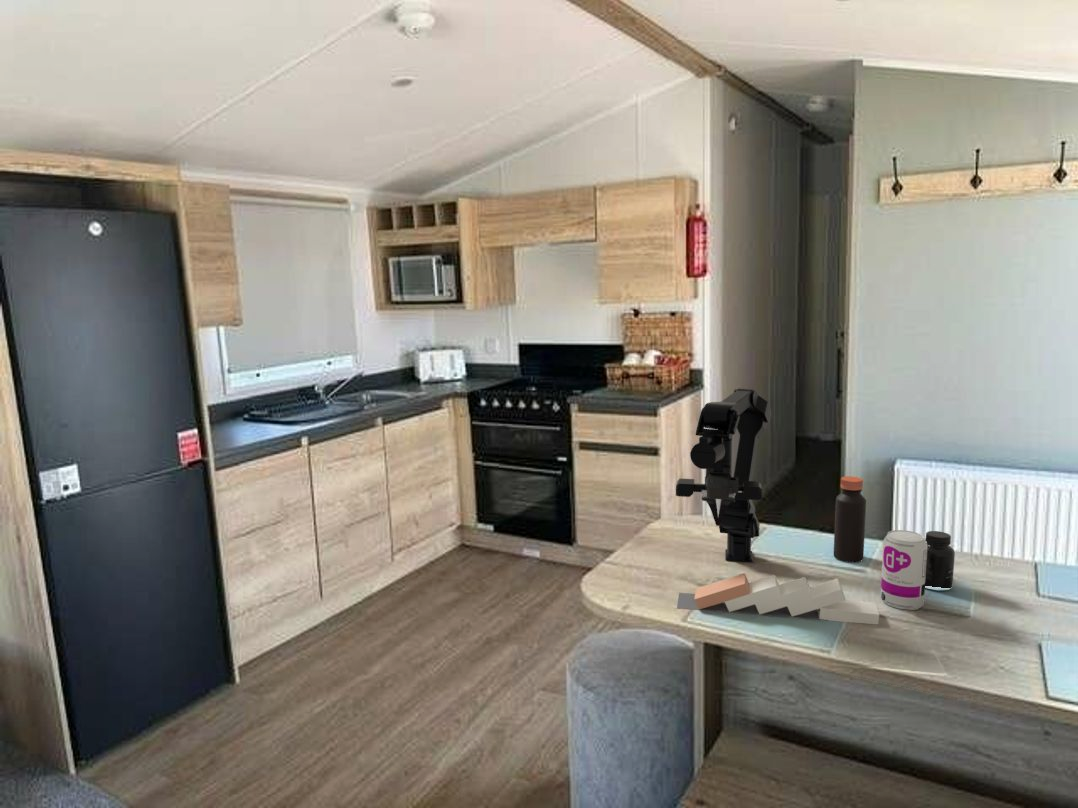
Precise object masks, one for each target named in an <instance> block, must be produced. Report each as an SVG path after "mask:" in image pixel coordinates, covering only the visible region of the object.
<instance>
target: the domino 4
mask: <svg viewBox="0 0 1078 808" xmlns="http://www.w3.org/2000/svg"><path fill="white" fill-rule="evenodd" d="M817 612H818V615H819V619H823V620H822V621H825V620H828V621H831V622H832V621H833V622H844V623H854V624H855V623H857V624H869V625H879V622H880V613H879V610H878V609H877V606H876V604H875V602H871V601H861V600H852V599H846V600H845V601H842V602H839V603H835V604H832V605H829V606H826V607H822V608H819V609H817Z"/></svg>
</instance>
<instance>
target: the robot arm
mask: <svg viewBox="0 0 1078 808" xmlns="http://www.w3.org/2000/svg"><path fill="white" fill-rule="evenodd" d="M771 419H772V410H771V407H770V404H769V402H768V401H767V400H766V399H764V398H763V397H761V396H760V395H759V393H758V391H757V390H755V389H754V388H742V387H741V388H740V387H739V388H737V389H734V390H733V392H732V393H730V395H728V396H727V397H725V398H724V399H723V400H721V401H711V402H710V401H709V402H707V403H705V404H704V406H703V407H702V409H701V410H700V414H699V419H698V423H697V427H696V430H695V436H699V437H698V439H699V440H698V441H699V442H698V443H696V444H695V445H693V446H692V448H691V451H690V452H689V453H690V454H689V458H690V460H691V462H692V464H693V465H694V466H695V467H696V468H698V469H701V470H705V477H704V483H695V479H694V478H678V480H676V484H675V496H676V497H681V498H683V497H684V498H685V497H686V498H691V496H692V495H694V493H700V494H701V500H702V501H703V502H706V504H707V505H708V507H709V508H710V511H711V514H712V517H713V521H714V523H715V526H716V527H718V529H719V533H720V534H726V535H727V536H726V537H727V538H726V539H727V540H726V541H727V543H726V547H727V548H726V549H725V557H724V558H725V559H724V560H726V561H732V562H733V561H734V562H748V563H752V562H754V558H753V550H752V539H755V537H757V538H758V537H759V536H760V529H761V527H760V522H759V519H758V517H757V515H756V507H755V505H754V502H753V501H761V500H763V499H762V497H763V487H762V484H761V482H760V481H753V479H754V474H755V467H756V461H757V453H758V446H759V440H760V439H761V438H762V436H763V435H764V434H765V433H766V432H767V430H768V427H769V423H770V422H771ZM736 432H738V434H739V438H738V439H739V440H738V446H737V452H736V459H735V466H734V472H733V471H732V470H733V436H734V435H735V434H736ZM732 472H733V473H732ZM732 475H733V476H732ZM717 500H720V502H719V503H720V504H719V509H718V506H717V505H718V504H717Z"/></svg>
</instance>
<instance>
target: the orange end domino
mask: <svg viewBox="0 0 1078 808" xmlns="http://www.w3.org/2000/svg"><path fill="white" fill-rule="evenodd" d="M749 583H750V582H749V580H748V577H747V575H746V574H745V572H744V573H740V574H737V575H734V576H730V577H728V578H725V579H721V580H718V581H715V582H712V583H709V584H706V585H702V586H699V587H696V588H695V590H694V591H695V593H694V594H695V599H694V600H695V602H696V604H697V606H698V609H699V610H698V611H701V610H700V609H703V608H706V607H709V606H713V605H716V604H719V603H722V602H726V601H729V600H732V599H735V598H738V597H742V596H745V595H748V594H749Z"/></svg>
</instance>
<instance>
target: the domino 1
mask: <svg viewBox="0 0 1078 808" xmlns="http://www.w3.org/2000/svg"><path fill="white" fill-rule="evenodd" d="M779 585H780V584H779V581H778V579H777V577H776V575H775V574H773V575H770V576H767V577H764V578H761V579H758V580H754V581H751V582H749V594H748V595H745V596H742V597H738V598H735V599H732V600H729V601H726V602H725V604H726V606H727V608H728V611H729V612H731V611H735V610H738V609H741V608H744V607H747V606H751V605H754V604H757V603H760V602H764V601H767V600H770V599H773V598H777V597H780V596H781V594H780V587H779Z"/></svg>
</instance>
